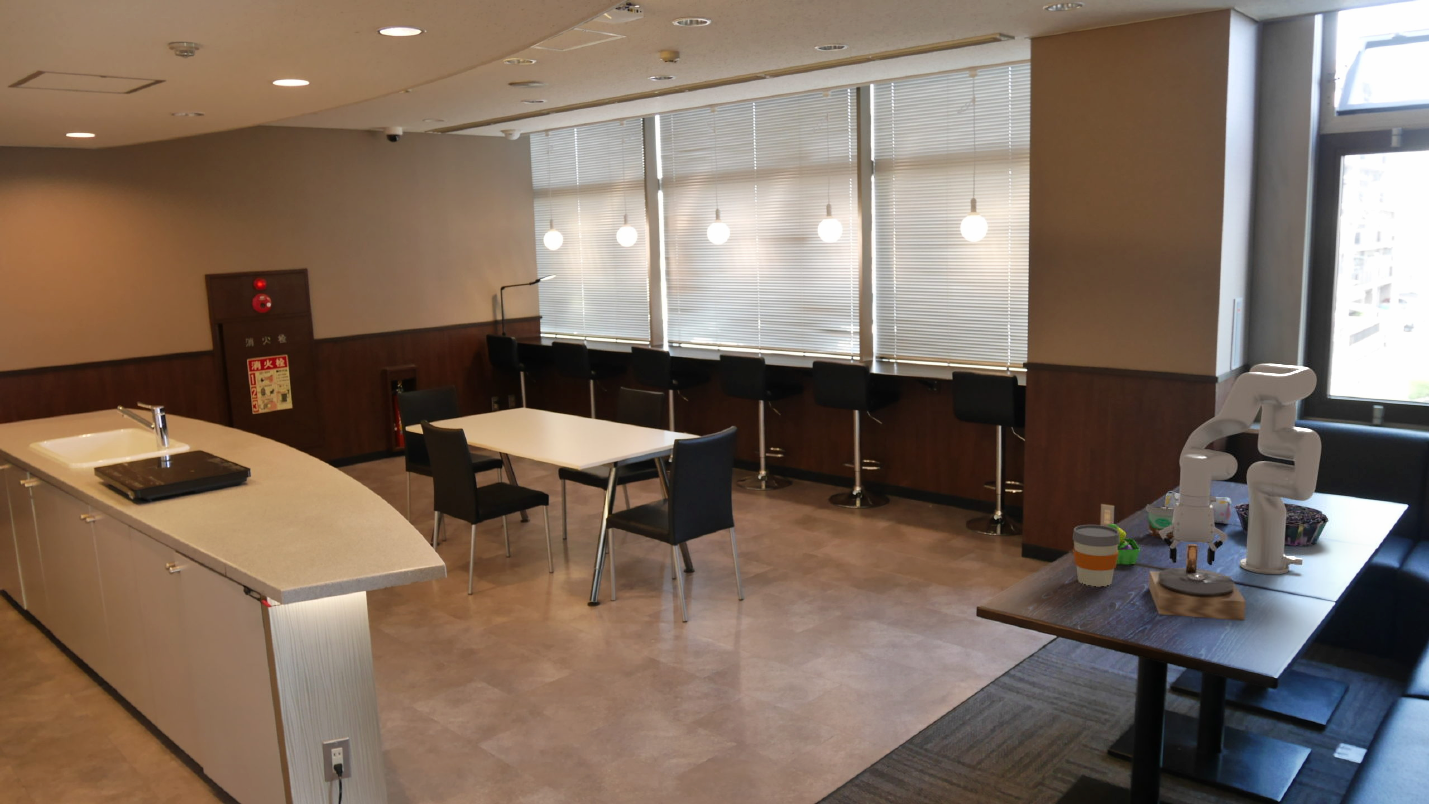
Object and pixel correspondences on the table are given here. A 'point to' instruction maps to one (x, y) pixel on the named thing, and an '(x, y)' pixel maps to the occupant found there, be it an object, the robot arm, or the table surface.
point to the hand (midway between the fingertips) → (1191, 562)
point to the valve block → (1196, 602)
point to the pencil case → (1219, 507)
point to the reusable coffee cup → (1095, 553)
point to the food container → (1159, 520)
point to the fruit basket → (1126, 548)
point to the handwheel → (1195, 578)
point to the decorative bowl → (1293, 523)
